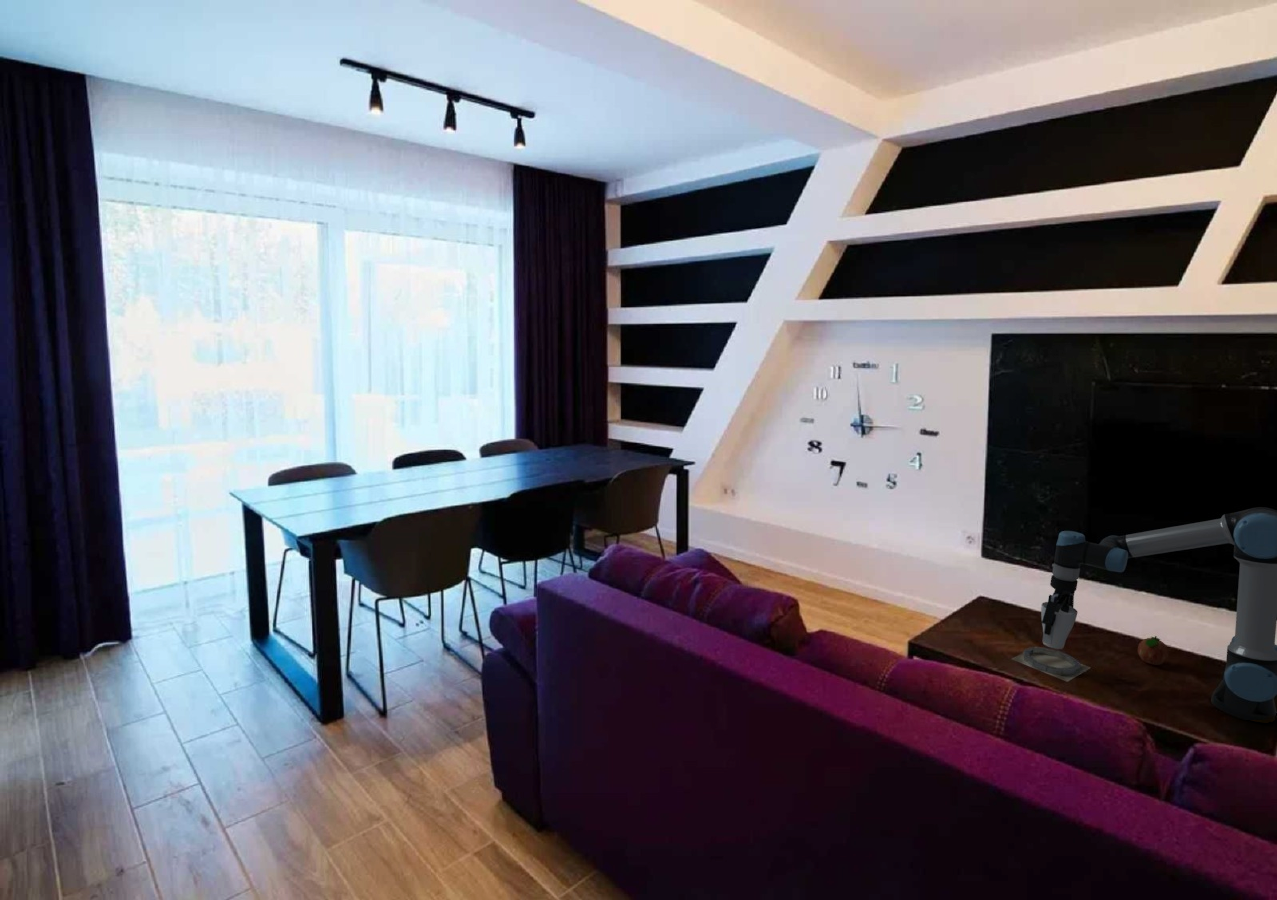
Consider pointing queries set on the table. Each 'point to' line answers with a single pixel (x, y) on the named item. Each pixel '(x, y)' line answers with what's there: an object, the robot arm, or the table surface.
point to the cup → (1060, 626)
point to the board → (1052, 664)
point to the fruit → (1153, 651)
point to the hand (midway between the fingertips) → (1054, 639)
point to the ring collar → (1050, 669)
